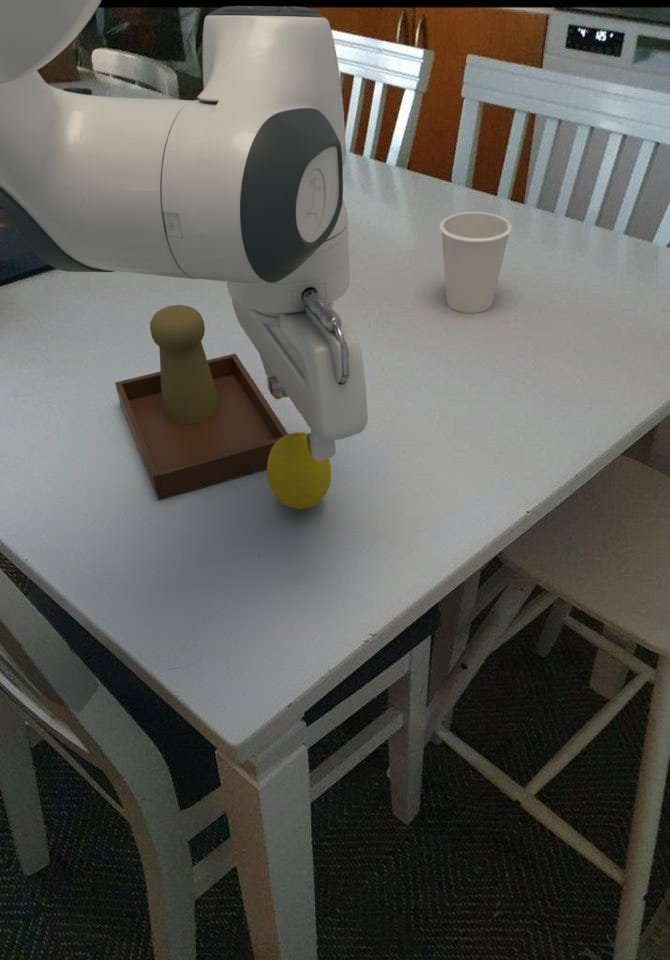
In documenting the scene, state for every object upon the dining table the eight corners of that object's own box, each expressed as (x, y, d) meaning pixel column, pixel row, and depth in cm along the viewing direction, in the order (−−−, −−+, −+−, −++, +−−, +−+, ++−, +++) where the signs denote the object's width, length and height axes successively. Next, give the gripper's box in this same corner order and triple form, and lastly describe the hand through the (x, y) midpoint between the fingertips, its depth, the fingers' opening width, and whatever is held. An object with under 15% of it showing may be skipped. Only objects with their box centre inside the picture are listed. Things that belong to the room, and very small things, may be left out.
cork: (174, 388, 87) (156, 295, 80) (228, 393, 86) (214, 299, 79) (153, 421, 82) (132, 324, 75) (209, 426, 81) (193, 329, 74)
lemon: (264, 524, 71) (255, 452, 66) (278, 484, 75) (271, 413, 70) (327, 530, 70) (322, 457, 65) (337, 489, 74) (334, 417, 69)
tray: (158, 500, 74) (152, 476, 72) (120, 404, 86) (114, 382, 84) (293, 461, 78) (291, 438, 76) (238, 375, 90) (235, 353, 88)
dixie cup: (454, 281, 106) (459, 206, 99) (513, 296, 102) (523, 219, 96) (423, 308, 100) (427, 230, 94) (485, 324, 97) (493, 244, 90)
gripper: (390, 316, 51) (389, 486, 59) (281, 208, 65) (293, 356, 74) (296, 339, 49) (310, 510, 58) (206, 222, 64) (227, 372, 73)
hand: (300, 422), depth 66 cm, fingers open, 8 cm apart
